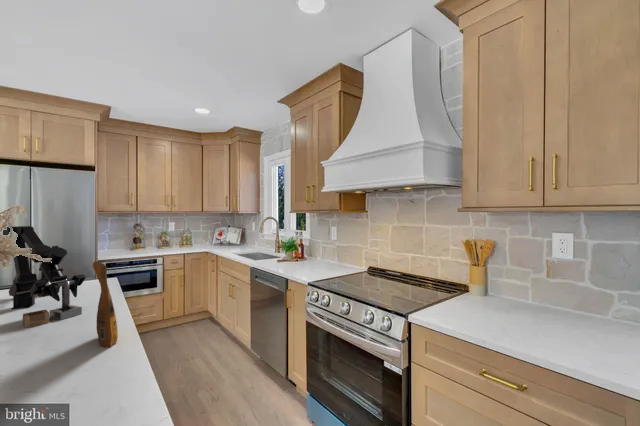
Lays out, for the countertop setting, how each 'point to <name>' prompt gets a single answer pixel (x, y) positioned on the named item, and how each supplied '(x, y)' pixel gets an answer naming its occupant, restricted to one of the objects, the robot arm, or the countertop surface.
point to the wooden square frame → (35, 318)
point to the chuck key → (65, 293)
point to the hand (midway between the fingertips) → (67, 298)
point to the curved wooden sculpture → (105, 310)
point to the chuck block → (65, 312)
